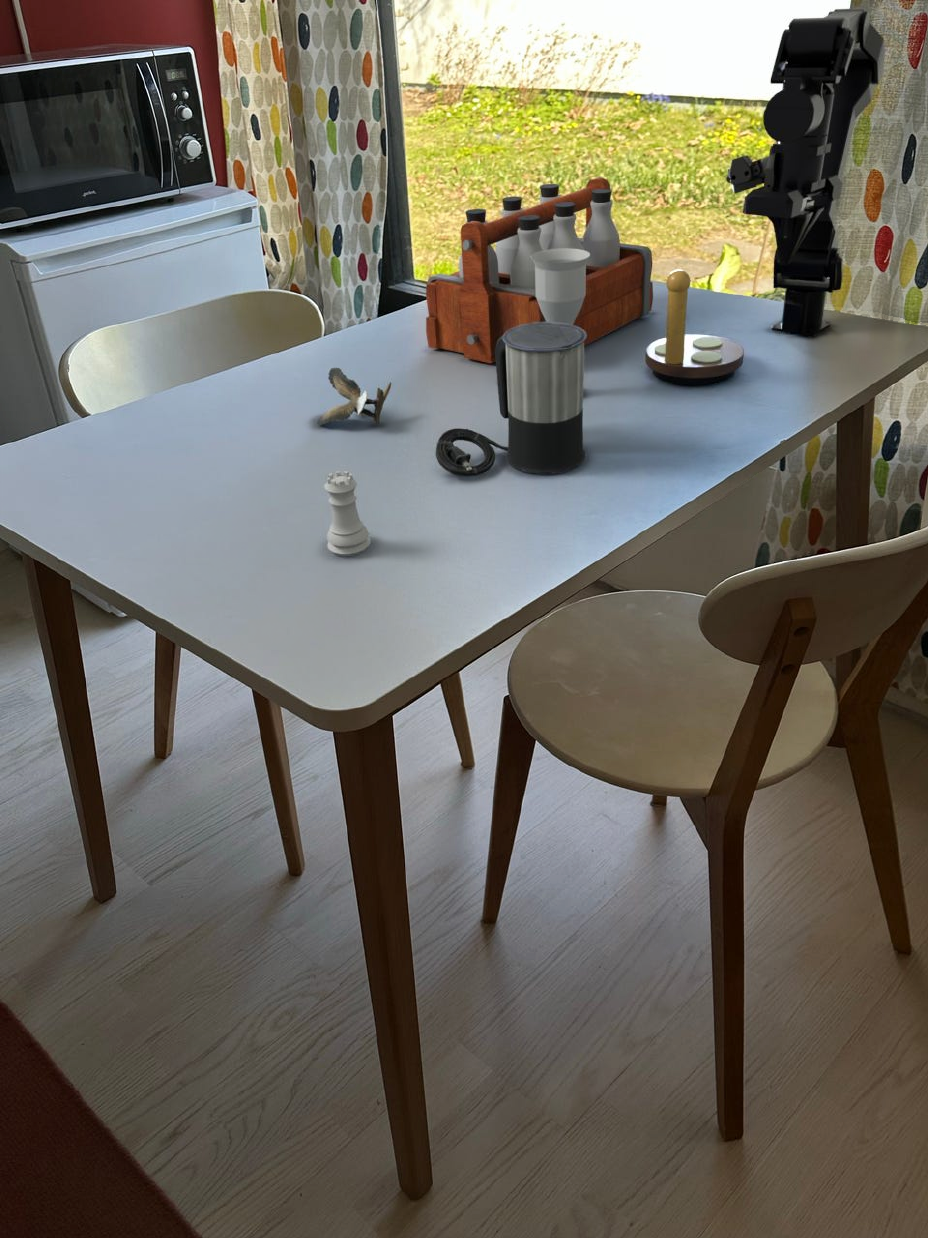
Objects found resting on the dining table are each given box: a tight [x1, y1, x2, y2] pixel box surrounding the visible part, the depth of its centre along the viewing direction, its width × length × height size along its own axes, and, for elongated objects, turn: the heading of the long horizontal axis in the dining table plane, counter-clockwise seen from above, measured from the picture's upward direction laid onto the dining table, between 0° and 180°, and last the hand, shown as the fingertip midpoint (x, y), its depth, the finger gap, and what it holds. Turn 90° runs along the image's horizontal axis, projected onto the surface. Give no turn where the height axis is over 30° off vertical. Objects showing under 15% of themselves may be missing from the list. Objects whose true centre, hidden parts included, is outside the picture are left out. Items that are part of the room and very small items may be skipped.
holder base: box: [651, 369, 735, 387], centre depth 141 cm, size 11×11×1 cm
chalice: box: [531, 248, 590, 325], centre depth 132 cm, size 7×7×18 cm
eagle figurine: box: [316, 367, 392, 427], centre depth 132 cm, size 8×7×9 cm
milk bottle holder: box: [425, 177, 654, 364], centre depth 153 cm, size 21×35×19 cm, turn 141°
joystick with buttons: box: [644, 269, 745, 378], centre depth 137 cm, size 13×13×13 cm
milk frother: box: [435, 322, 587, 477], centre depth 116 cm, size 14×16×15 cm
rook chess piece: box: [324, 470, 372, 558], centre depth 104 cm, size 4×4×8 cm
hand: (784, 264), depth 136 cm, fingers closed
